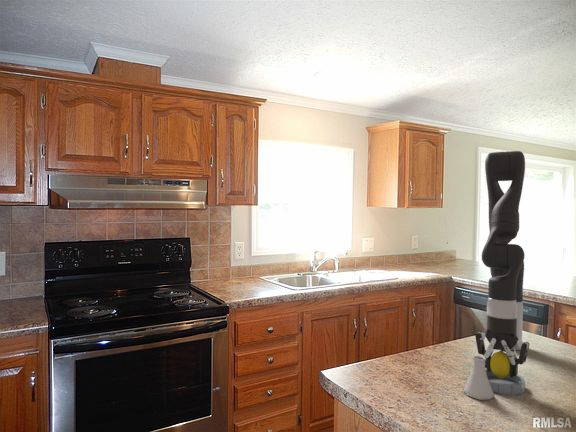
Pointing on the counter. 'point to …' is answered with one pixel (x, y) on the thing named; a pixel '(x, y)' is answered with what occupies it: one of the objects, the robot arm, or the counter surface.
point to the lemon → (500, 364)
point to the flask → (478, 381)
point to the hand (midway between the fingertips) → (500, 373)
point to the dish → (506, 384)
